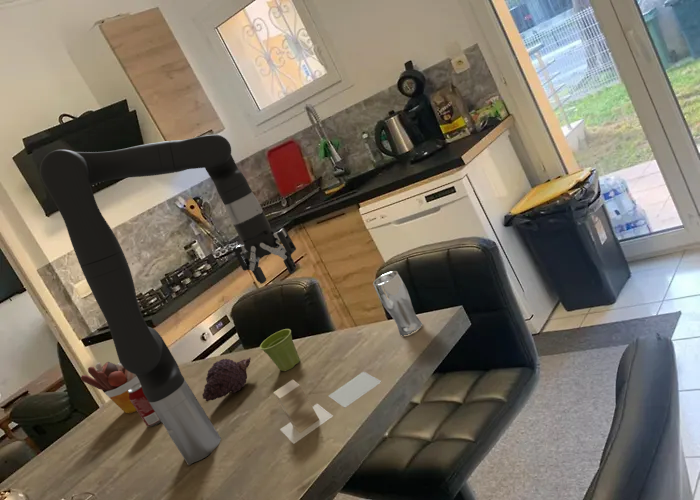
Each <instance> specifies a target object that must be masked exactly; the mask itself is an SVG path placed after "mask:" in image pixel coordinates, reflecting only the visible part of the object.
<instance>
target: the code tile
mask: <svg viewBox="0 0 700 500" xmlns="http://www.w3.org/2000/svg"><path fill="white" fill-rule="evenodd" d="M312 407H313V409H314V411H315V412H316V414H317V416H318V418H319V420H318V421H316V422H315V423H314V424H312V425H311V426H309V427H308V428H306V429H305V430H304V431H302V432H301V433H299V432H298V431H297V430H296V429H295V428H294V427H293V426H292V424H291V422H290V421H289V422H288V423H287V424H286V425H284V426H283V427H281V428H279V430H280V432H281V433H283V434H284V436H285V437H287V439H288V440H289V441H290V442H291V443H292V444H293V445H295V444H296V443H298V442H299V441H301V440H302V439H303V438H304V437H306V436H307V435H308V434H310V433H312V432H313V431H314V430H316V429H317V428H319V427H320V426H322V425H323V424H325V423H326V422H327V421H328V420H330V419H331V418H333V417H334V415H333V414H331V412H329V411H327V410H326V409H325V408H324V407H322V406H321V405H320V404H319V403H315V404H314V405H312Z"/></svg>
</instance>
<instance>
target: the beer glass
mask: <svg viewBox="0 0 700 500" xmlns="http://www.w3.org/2000/svg"><path fill="white" fill-rule="evenodd" d="M372 284H373V287H374V289H375V291H376V294H377V296H378V298H379V300H380V302H381V304H382V305H383V307H384V308H385V310H386V311H387V312H388V313H389V315H390V317H392V319H393V320H394V322H395V324H396V326H397V329H398V332H399V335H400V336H401V335H402V336H404V335H408V334H411V333H412V332H414V331H416V330H417V329H419V328H420V327H421V325H422V326H423V323H422V321H421V320H420V318H419V317H418V316H417V314H416V312H415V309H414V307H413V304H412V300H411V296H410V294H409V291H408V289H407V287H406V285H405V283H404V281H403V279H402V277H401V276H400V274H399V272H398V271H397V270H393V271H388V272H386V273H384V274H382V275H380V276H379V277H377V278H376V279H375V280H374V281H373V283H372ZM402 336H401V337H402Z"/></svg>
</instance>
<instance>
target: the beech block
mask: <svg viewBox="0 0 700 500" xmlns="http://www.w3.org/2000/svg"><path fill="white" fill-rule="evenodd" d="M273 394H274V396H275V398H276V400H277V401H278V403H279V405H280V406H281V408H282V410H283V412H284V413H285V415H286V417H287V419H288V421H289V423H290V422H291V424H292V426H293V427H294V428H295V429H296V430H297V431H298V432H299V433H301V432H302V431H304V430H305V429H306V428H308V427H309V426H311V425H312V424H314V423H315V422H316V421H318V420H319V418H318V416H317V414H316V412H315V411H314V409H313V405H312V404H311V401H309V398H308V396H307V394H306V393H305V391H304V388H302V386H301V385H300V384H299V383H298V382H296V381H295V380H294V379H291V380H290V381H288V382H286V383H285V384H284V385H282V386H281V387H279V388H278V389H277V390H275V391H274V392H273Z"/></svg>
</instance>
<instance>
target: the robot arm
mask: <svg viewBox="0 0 700 500" xmlns="http://www.w3.org/2000/svg"><path fill="white" fill-rule="evenodd" d="M193 169H195V170H196V169H205V170H206V173H207V174H208V176H209V177H210V178H211V179H210V180H212V182H213V183H214V186H215V189H216V191H217V194H218V195H219V197H220V199H221V202H222V204H223V205H224V208H225V210H226V212H227V215H228V217H229V219H230V221H231V223H232V225H233V227H234V228H235V231H236V232H237V235H238V237H239V239H240V240H241V241H243V242H242V243H243V244H240V243H239V244H238V245H237V246H236V247H235V248H233V251H234V253H235V256H236V258H237V259H238V262H239V264H240V266H241V269H242V270H243V271H244V272H245V271H251V273H252V274H253V276H254V277H255V279H256V281H257V282H258V283H259V284H261V285H262V284H265V282H266V281H267V278H266V275H265V273H264V272H263V270H262V267H261V266H259V265H260V259H261V258H264V257H265V256H269V255H271V254H272V255H274V256H278V257H280V258H281V259H283V264H284V265H285V267H286V269H287V272H288V273H289V274H290V275H291V274H294V273H295V272H296V271H297V270H296V269H297V265H296V263H295V261H294V259H293V257H292V254H293V253H294V252H296V250H297V247H296V245H295V244H294V242H293V240H292V238H291V237H290V235H289V233H288V231H287V229H286V228H284V227H282V228H281V229H280V230H278V231H276V232H274V231H273V230H272V228H271V224H270V222H269V220H268V218H267V216H266V213H265V211H264V210H263V208H262V205H261V204H260V202H259V200H258V199H257V197H256V196H255V194H254V192H253V191H252V188H251V187H250V185H249V182H248V180H247V179H246V177H245V175H244V174H243V172H242V171H240V169H239V168H238V166H237V163H236V161H235V159H234V157H233V156H232V146H231V144H230V142H229V141H228V139H227V138H225V137H224V136H222V135H219V134H208V135H202V136H196V137H192V138H186V139H182V140H181V139H178V140H177V139H175V140H166V141H158V142H152V143H151V142H150V143H145V144H140V145H135V146H131V147H127V148H122V149H116V150H109V151H98V152H97V151H95V152H94V151H93V152H92V151H91V152H90V151H88V152H87V151H85V152H84V151H73V150H71V149H70V150H69V149H56V150H53V151H50V152H48V153H47V154H46V155H45V156H44V157H43V159H42V161H41V163H40V166H39V175H40V178H41V181H42V183H43V185H44V186H45V188H46V190H47V192H48V193H49V195H50V196H51V198H52V200H53V203H54V204H55V206H56V207H57V209H58V211H59V213H60V215H61V217H62V220H63V222H64V223H65V227H66V230H67V233H68V237H69V239H70V241H71V245H72V249H73V251H74V254H75V256H76V259H77V262H78V265H79V266H80V269H81V271H82V273H83V275H84V278H85V280H86V282H87V284H88V287H89V289H90V290H91V293H92V295H93V297H94V299H95V301H96V303H97V305H98V307H99V309H100V311H101V313H102V314H103V317H104V318H105V320H106V323H107V326H108V328H109V331H110V335H111V339H112V342H113V344H114V348H115V350H116V354H117V358H118V361H119V362H120V363H121V365H122V366H123V367H124V368H125V369H126V370H127V371H129V372H131V373H133V374H136V376H137V377H138V379H139V381H140V384H141V386H142V390H143V393H144V395H145V397H146V398H147V400H148V401H149V403H150V404H151V406H152V407H153V409H154V411H155V412H156V414H157V415H158V417H159V419H160V420H161V423H162V424H163V427H164V428H165V429H166V432H167V434H168V435H169V438H170V439H171V440H172V442H173V444H174V445H175V447H176V448H177V449H178V451H179V452H180V454H181V456H182V457H183V459H184V460H185V462H186V463H187V465H188V466H190V465H192V464H193V463H196V462H199V461H201V460H203V459H204V458H206V457H207V456H209V455H211V454H212V452H213V451H214V450H215V449H216V448H217V447H218V446H219V444H220V443H221V440H222V438H221V435H220V434H219V433H218V431H217V430H216V428H215V426H214V424H213V423H212V422H211V419H210V418H209V416H208V414H207V413H206V411H205V410H204V408H203V407H202V404H200V402H199V400H198V398H197V397H196V395H195V393H194V392H193V390H192V389H191V387H190V386H189V383H188V382H187V380H186V379H185V377H184V375H183V374H182V372H181V370H180V368H179V364H178V362H177V360H176V359H175V357H174V356H173V353H172V352H171V350H170V348H169V347H168V345H167V343H166V342H165V340H164V339H163V337H162V335H161V334H160V333H159V332H158V331H157V330H156V329H154V328H153V327H150V326H148V324H147V322H146V321H145V319H144V316H143V313H142V312H141V309H140V305H139V302H138V298H137V293H136V288H135V283H134V278H133V275H132V272H131V269H130V268H131V267H130V266H129V263H128V260H127V258H126V256H125V253H124V251H123V248H122V245H120V242H119V241H118V239H117V237H116V235H115V233H114V231H113V230H112V228H111V227H110V225H109V224H108V222H107V220H106V219H105V217H104V216H103V213H101V211H100V209H99V207H98V206H99V205H98V204H97V201H96V198H95V196H94V191H93V189H92V185H96V184H99V183H102V182H104V183H105V182H107V181H108V182H109V181H112V180H119V179H126V178H127V179H128V178H140V177H153V176H160V175H167V174H174V173H179V172H184V171H187V170H193ZM277 240H278V241H280V242H278V241H277ZM247 252H249V253H250V256H248V254H247Z"/></svg>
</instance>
